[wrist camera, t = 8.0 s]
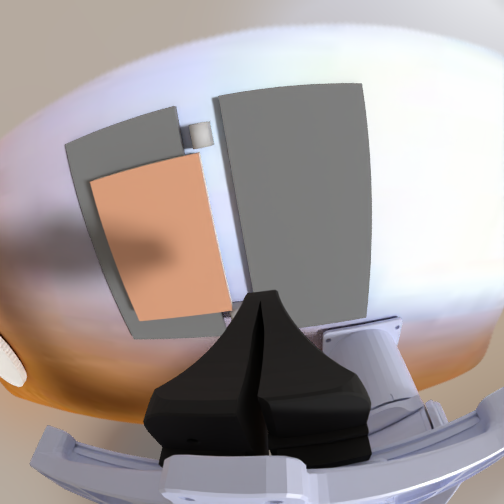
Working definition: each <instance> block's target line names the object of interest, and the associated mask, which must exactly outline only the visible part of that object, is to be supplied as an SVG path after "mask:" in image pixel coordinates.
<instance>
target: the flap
mask: <svg viewBox="0 0 504 504" xmlns="http://www.w3.org/2000/svg"><path fill="white" fill-rule="evenodd" d="M90 184H91V188H92V192H93V195H94V199H95V202H96V206H97V209H98V213H99V216H100V219H101V222H102V225H103V229H104V232H105V235H106V238H107V241H108V244H109V246H110V249H111V252H112V255H113V258H114V260H115V263H116V266H117V268H118V271H119V274H120V276H121V279H122V281H123V284H124V286H125V289H126V291H127V293H128V296H129V298H130V301H131V303H132V305H133V307H134V310H135V312H136V314H137V316H138V319H139V321H147V320H157V319H167V318H176V317H185V316H194V315H202V314H210V313H218V312H225V311H232V300H231V296H230V292H229V287H228V283H227V279H226V274H225V270H224V265H223V261H222V257H221V252H220V248H219V243H218V238H217V234H216V229H215V225H214V220H213V215H212V210H211V206H210V201H209V196H208V191H207V186H206V181H205V176H204V171H203V166H202V161H201V156H200V152H197V153H192V154H188V155H183V156H179V157H174V158H170V159H166V160H162V161H158V162H154V163H150V164H146V165H142V166H138V167H135V168H131V169H128V170H124V171H121V172H117V173H114V174H111V175H107V176H104V177H101V178H98V179H95V180H93V181H91V182H90Z"/></svg>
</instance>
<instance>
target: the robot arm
mask: <svg viewBox="0 0 504 504" xmlns="http://www.w3.org/2000/svg"><path fill="white" fill-rule="evenodd" d="M402 323H403V320H402V319H401V318H400V317H397V318H392V319H387V320H382V321H377V322H372V323H367V324H362V325H356V326H351V327H345V328H339V329H333V330H327V331H325V332H324V333H323V349H322V351H321V350H319V349H318V348H317V347H316V346H315V345H314V344H313V343H312V342H311V341H310V340H309V339H308V338H307V337H306V336H305V335H304V334H303V333H302V332H301V330H300V329H299V328H298V327H297V325H296V324H295V323H294V321H293V320H292V319H291V317H290V316H289V314H288V312H287V311H286V309H285V307H284V306H283V304H282V302H281V299H280V297H279V293H278V291H277V290H268V291H260V292H253V293H247V295H246V296H245V298H244V300H243V302H242V304H241V306H240V308H239V309H238V311H237V313H236V315H235V316H234V318H233V319H232V321H231V323H230V324H229V326H228V327H227V328H226V330H225V331H224V332H223V334H222V335H221V336H220V338H219V339H218V340H217V341H216V343H215V344H214V345H213V346H212V347H211V348H210V349H209V350H208V351H207V352H206V353H205V354H204V355H203V356H202V357H201V358H200V359H199V360H198V361H197V362H196V363H194V364H193V365H192V366H191V367H189V368H188V369H187V370H185V371H184V372H183V373H181V374H180V375H178V376H177V377H175V378H174V379H172V380H171V381H169V382H167V383H165V384H164V385H162V386H160V387H159V388H157V389H155V390H154V393H153V395H152V397H151V399H150V402H149V405H148V408H147V411H146V414H145V417H144V421H143V422H144V426H145V427H146V429H147V430H148V432H149V433H150V434H151V435H152V436H153V437H154V438H155V439H156V441H157V442H158V443H159V444H160V445H162V451H161V456H160V460H157V459H150V458H144V457H138V456H133V455H128V454H123V453H119V452H114V451H109V450H106V449H102V448H98V447H94V446H91V445H87V444H84V443H81V442H77V441H76V440H75V439H74V438H73V437H72V436H71V435H70V434H68V433H67V432H65V431H63V430H61V429H58V428H55V427H52V426H49V425H47V427H46V429H45V431H44V433H43V435H42V437H41V439H40V441H39V443H38V446H37V448H36V450H35V452H34V454H33V457H32V459H31V462H30V466H31V467H33V468H34V469H36V470H37V471H38V472H40V473H41V474H42V475H44V476H45V477H47V478H48V479H50V480H51V481H53V482H54V483H56V484H58V485H59V486H61V487H63V488H64V489H66V490H68V491H70V492H73V493H75V494H77V495H80V496H82V497H84V498H86V499H89V500H91V501H94V502H96V503H99V504H446V503H447V502H448V501H449V499H450V498H451V497H452V495H453V494H454V493H455V491H456V490H457V489H458V487H459V486H460V484H461V482H463V481H465V480H467V479H468V478H470V477H472V476H474V475H475V474H477V473H479V472H480V471H482V470H484V469H486V468H487V467H489V466H490V465H492V464H494V463H495V462H497V461H498V460H500V459H501V458H502V457H503V456H504V387H502V388H500V389H498V390H497V391H495V392H493V393H491V394H489V395H488V396H486V397H485V398H484V399H483V400H482V401H481V402H480V403H479V405H478V407H477V408H476V410H475V411H472V412H470V413H468V414H466V415H464V416H462V417H460V418H458V419H455V420H453V421H451V422H449V423H448V420H447V418H446V416H445V413H444V411H443V409H442V407H441V405H440V403H439V402H436V401H434V402H433V400H429V401H427V402H426V403H425V404H426V407H427V408H426V407H425V405H424V403H423V401H422V399H421V398H420V396H419V394H418V391H417V389H416V387H415V384H414V382H413V380H412V378H411V376H410V373H409V371H408V369H407V367H406V365H405V362H404V360H403V358H402V356H401V354H400V352H399V350H398V348H397V345H398V341H399V336H400V332H401V328H402ZM327 339H328V340H327ZM269 450H270V452H271V455H272V456H269Z"/></svg>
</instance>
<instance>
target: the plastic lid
mask: <svg viewBox="0 0 504 504" xmlns="http://www.w3.org/2000/svg"><path fill="white" fill-rule="evenodd" d="M26 375H27V374H26V372H25V370H24V367H23V365H22V363H21V362H20V360H19V359H18V357H17V356H16V354H15V353H14V352H13V351H12V349H11V348H10V347H9V345H7V343H6V342H5V341H4V340H3V339H2V337H1V336H0V376H1V377H2V378H3V379H4V380H6V381H8V382H9V383H10V384H12V385H14V386H17V387H20V386H23V384H24V382H25V381H26V379H27V376H26Z"/></svg>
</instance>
